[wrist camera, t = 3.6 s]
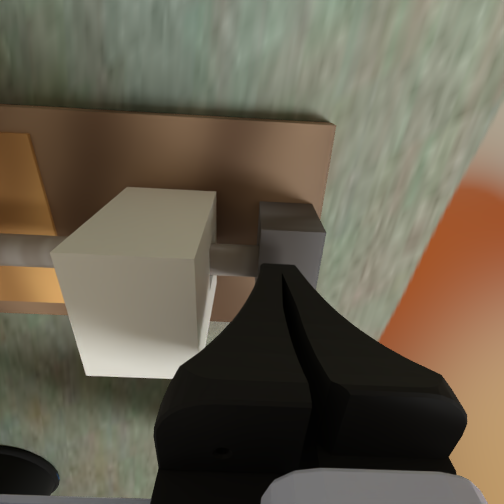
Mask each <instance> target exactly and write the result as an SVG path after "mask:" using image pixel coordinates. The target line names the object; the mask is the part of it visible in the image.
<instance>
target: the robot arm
mask: <svg viewBox="0 0 504 504" xmlns="http://www.w3.org/2000/svg"><path fill="white" fill-rule="evenodd" d="M466 425H467V414H466V412H465V410H464V409H463V407H462V405H461V404H460V402H459V400H458V399H457V397H456V395H455V394H454V392H453V391H452V389H451V388H450V386H449V385H448V383H447V382H446V381H445V379H444V378H443V377H442V375H440V374H438V373H436V372H434V371H432V370H430V369H428V368H426V367H424V366H421V365H419V364H417V363H415V362H413V361H411V360H409V359H407V358H405V357H403V356H401V355H400V354H398V353H396V352H394V351H392V350H390V349H389V348H387V347H385V346H384V345H382V344H380V343H379V342H377V341H376V340H374V339H373V338H371V337H370V336H368V335H367V334H365V333H364V332H362V331H361V330H359V329H358V328H357V327H355V326H354V325H353V324H351V323H350V322H349V321H348V320H346V319H345V318H344V317H343V316H342V315H340V314H339V313H338V312H337V311H336V310H335V309H334V308H333V307H331V306H330V305H329V304H328V303H327V302H326V301H325V300H324V299H323V298H322V297H321V296H320V294H319V293H318V292H317V291H316V290H315V289H314V288H313V287H312V285H311V284H310V283H309V282H308V281H307V279H306V278H305V277H304V276H303V274H302V273H301V272H300V271H299V269H298V268H297V267H296V266H295V265H290V264H270V263H263V264H262V265H260V272H259V276H258V278H257V281H256V283H255V285H254V288H253V290H252V292H251V294H250V295H249V297H248V299H247V300H246V302H245V304H244V305H243V307H242V308H241V310H240V311H239V312H238V314H237V315H236V316H235V318H234V319H233V320H232V321H231V322H230V324H229V325H228V326H227V327H226V328H225V329H224V330H223V331H222V332H221V333H220V334H219V335H218V336H217V337H216V338H215V339H214V340H213V341H212V342H211V343H209V344H208V345H207V346H206V347H205V348H204V349H203V350H201V351H200V352H199V353H197V354H196V355H195V356H193V357H192V358H190V359H189V360H188V361H186V362H185V363H183V364H182V365H180V366H179V368H178V370H177V371H176V373H175V375H174V377H173V379H172V381H171V382H170V384H169V386H168V388H167V391H166V393H165V395H164V398H163V400H162V403H161V405H160V409H159V412H158V416H157V419H156V423H155V426H154V442H155V448H156V454H157V460H158V466H159V469H158V473H157V477H156V481H155V486H154V490H153V494H152V498H151V499H141V498H108V497H75V496H41V495H8V494H0V504H488V503H487V501H486V500H485V498H484V496H483V494H482V493H481V491H480V490H479V489H478V488H477V487H476V486H475V485H474V484H473V483H472V482H471V481H470V480H468V479H466V478H464V477H462V476H458V475H456V470H455V469H454V467H453V465H452V463H451V461H450V459H449V455H450V454H451V452H452V451H453V449H454V447H455V446H456V444H457V443H458V441H459V440H460V438H461V437H462V435H463V432H464V430H465V428H466Z"/></svg>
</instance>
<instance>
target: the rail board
mask: <svg viewBox="0 0 504 504" xmlns="http://www.w3.org/2000/svg"><path fill="white" fill-rule="evenodd" d="M335 129H336V125H334V124H332V123H326V122H309V121H291V120H274V119H256V118H239V117H221V116H204V115H186V114H169V113H152V112H134V111H117V110H99V109H82V108H64V107H47V106H29V105H12V104H0V312H4V313H28V314H52V315H68V312H67V309H66V306H65V302H64V299H63V295H62V292H61V289H60V285H59V282H58V279H57V275H56V272H55V268H54V265H53V262H52V258H51V255H50V252H51V251H52V250H53V249H54V248H56V247H57V246H58V245H59V244H60V243H61V242H63V241H64V240H65V239H66V238H67V237H69V236H70V235H71V234H72V233H73V232H74V231H76V230H77V229H78V228H79V227H80V226H82V225H83V224H84V223H85V222H86V221H87V220H89V219H90V218H91V217H92V216H93V215H95V214H96V213H97V212H98V211H99V210H100V209H102V208H103V207H104V206H105V205H106V204H108V203H109V202H110V201H111V200H112V199H113V198H115V197H116V196H117V195H118V194H119V193H121V192H122V191H123V190H124V189H125V188H126V187H140V188H159V189H179V190H198V191H216V238H217V243H211V245H210V249H209V265H210V275H217V284H216V289H215V295H214V300H213V306H212V312H211V317H210V321H220V322H231V321H232V320H233V319H234V318H235V316H236V315H237V314H238V312H239V311H240V310H241V308H242V307H243V305H244V304H245V302H246V300H247V299H248V297H249V295H250V294H251V292H252V290H253V288H254V285H255V283H256V281H257V278H258V276H259V272H260V265H262V264H263V263H270V264H290V265H295V266H296V267H297V268H298V269H299V271H300V272H301V273H302V274H303V276H304V277H305V278H306V279H307V281H308V282H309V283H310V284H311V285H312V287H313V288H314V289H315V290H316V285H317V280H318V274H319V269H320V263H321V258H322V253H323V247H324V242H325V236H326V231H325V229H324V227H323V225H322V223H321V221H320V217H321V212H322V206H323V200H324V194H325V188H326V182H327V176H328V171H329V165H330V159H331V153H332V147H333V141H334V135H335Z"/></svg>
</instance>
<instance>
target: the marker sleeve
mask: <svg viewBox="0 0 504 504" xmlns="http://www.w3.org/2000/svg"><path fill="white" fill-rule="evenodd" d="M211 243H217V238H216V191H198V190H179V189H159V188H140V187H126V188H125V189H124V190H123V191H122V192H121V193H119V194H118V195H117V196H116V197H115V198H113V199H112V200H111V201H110V202H109V203H108V204H106V205H105V206H104V207H103V208H102V209H100V210H99V211H98V212H97V213H96V214H95V215H93V216H92V217H91V218H90V219H89V220H87V221H86V222H85V223H84V224H83V225H82V226H80V227H79V228H78V229H77V230H76V231H74V232H73V233H72V234H71V235H70V236H69V237H67V238H66V239H65V240H64V241H63V242H61V243H60V244H59V245H58V246H57V247H56V248H54V249H53V250H52V251H51V252H50V255H51V258H52V262H53V265H54V268H55V272H56V275H57V279H58V282H59V285H60V289H61V292H62V295H63V299H64V302H65V306H66V309H67V312H68V316H69V319H70V322H71V326H72V329H73V333H74V336H75V339H76V343H77V346H78V349H79V353H80V356H81V360H82V363H83V366H84V370H85V373H86V376H109V377H135V378H162V379H173V377H174V375H175V373H176V371H177V370H178V368H179V366H180V365H182V364H183V363H185V362H186V361H188V360H189V359H190V358H192V357H193V356H195V355H196V354H197V353H199V352H200V351H201V350H203V349H204V348H205V345H206V340H207V334H208V328H209V323H210V317H211V312H212V306H213V300H214V295H215V289H216V284H217V275H210V265H209V249H210V245H211Z"/></svg>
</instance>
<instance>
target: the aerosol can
mask: <svg viewBox="0 0 504 504" xmlns="http://www.w3.org/2000/svg"><path fill="white" fill-rule="evenodd" d="M58 485H59V475H58V473H57V471H56V470H55V468H54V467H53V466H52V465H51V464H50V463H49V462H47V461H46V460H44V459H43V458H41V457H39V456H37V455H35V454H32V453H29V452H27V451H23V450H20V449H16V448H10V447H1V446H0V494H8V495H41V496H50V495H51V493H53V492H54V491H55V490H56V489H57V487H58Z"/></svg>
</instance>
